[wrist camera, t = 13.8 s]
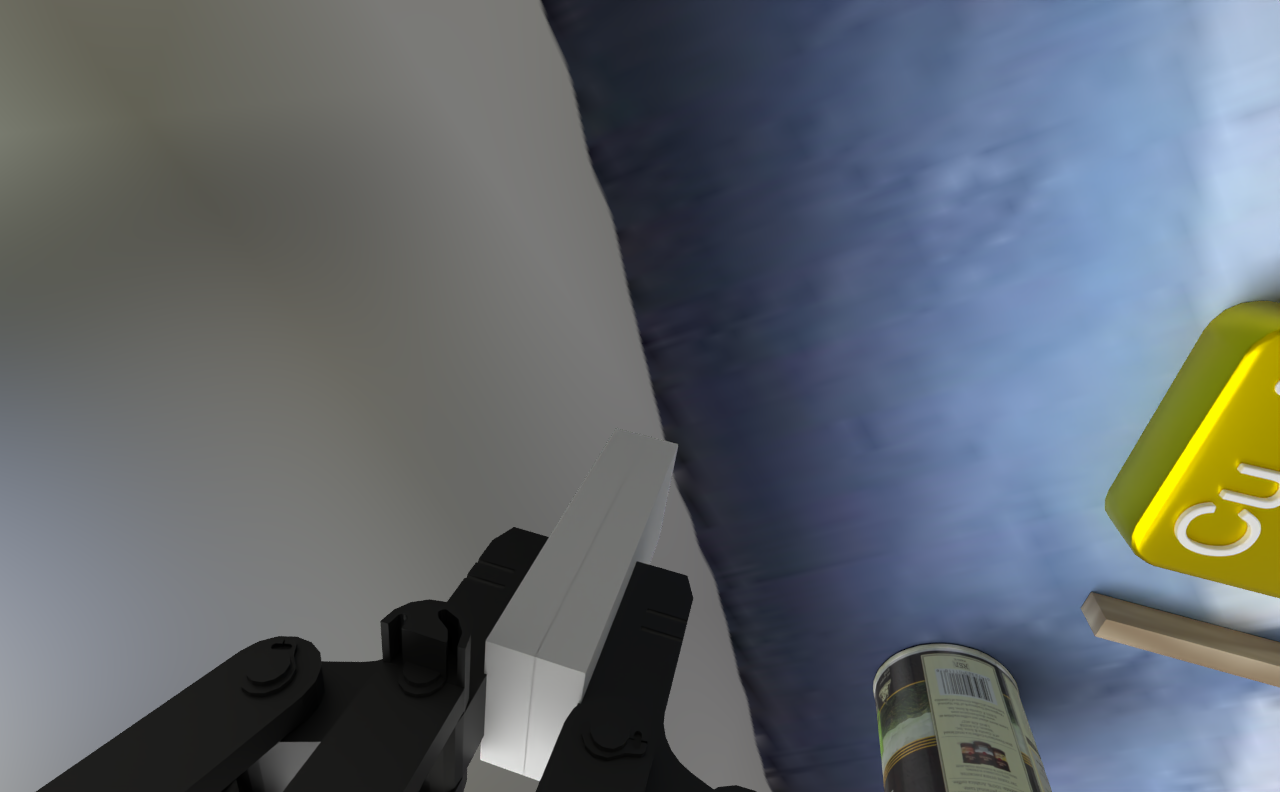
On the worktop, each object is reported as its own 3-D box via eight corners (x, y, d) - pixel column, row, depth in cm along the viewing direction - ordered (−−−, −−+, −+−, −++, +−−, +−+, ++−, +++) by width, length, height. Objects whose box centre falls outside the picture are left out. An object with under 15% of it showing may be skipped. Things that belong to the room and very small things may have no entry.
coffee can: (897, 746, 52) (921, 949, 39) (854, 653, 49) (866, 841, 37) (1036, 733, 48) (1112, 955, 35) (999, 631, 45) (1067, 834, 33)
